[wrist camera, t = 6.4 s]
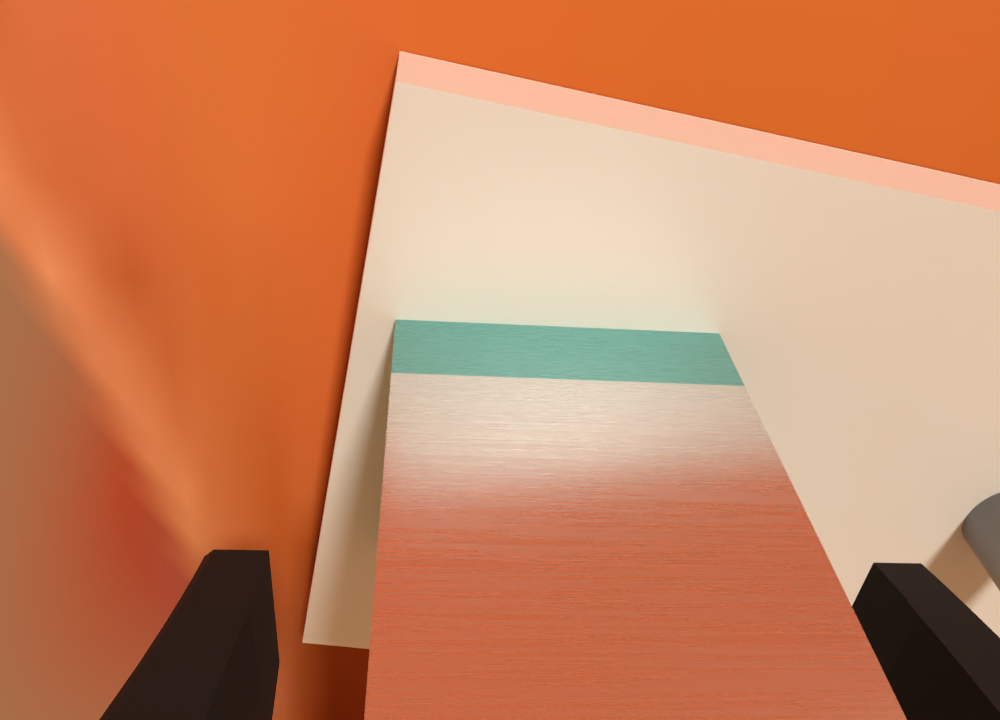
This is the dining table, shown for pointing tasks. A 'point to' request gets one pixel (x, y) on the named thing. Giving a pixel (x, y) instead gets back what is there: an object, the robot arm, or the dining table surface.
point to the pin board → (694, 305)
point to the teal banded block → (598, 540)
